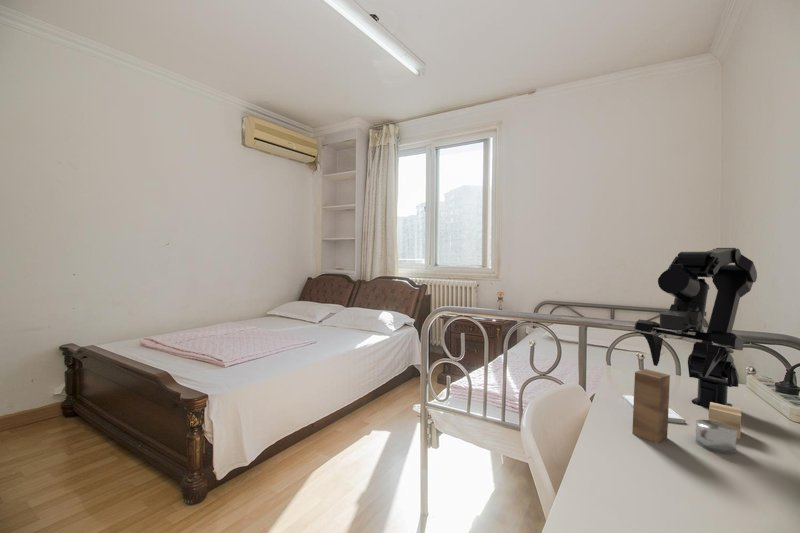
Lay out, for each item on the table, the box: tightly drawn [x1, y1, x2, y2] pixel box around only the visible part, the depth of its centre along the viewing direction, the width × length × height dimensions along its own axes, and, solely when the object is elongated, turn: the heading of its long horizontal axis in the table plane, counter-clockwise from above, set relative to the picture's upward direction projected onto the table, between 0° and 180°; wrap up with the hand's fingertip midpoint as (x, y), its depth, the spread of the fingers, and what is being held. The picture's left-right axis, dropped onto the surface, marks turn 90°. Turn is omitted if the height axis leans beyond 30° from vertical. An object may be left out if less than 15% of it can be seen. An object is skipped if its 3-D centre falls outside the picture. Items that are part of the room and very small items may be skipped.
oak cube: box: [708, 402, 742, 440], centre depth 76 cm, size 5×5×5 cm
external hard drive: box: [622, 394, 687, 424], centre depth 86 cm, size 2×8×12 cm
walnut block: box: [631, 368, 671, 444], centre depth 73 cm, size 4×4×13 cm
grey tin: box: [694, 419, 738, 456], centre depth 70 cm, size 6×6×4 cm
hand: (678, 371), depth 80 cm, fingers open, 9 cm apart
